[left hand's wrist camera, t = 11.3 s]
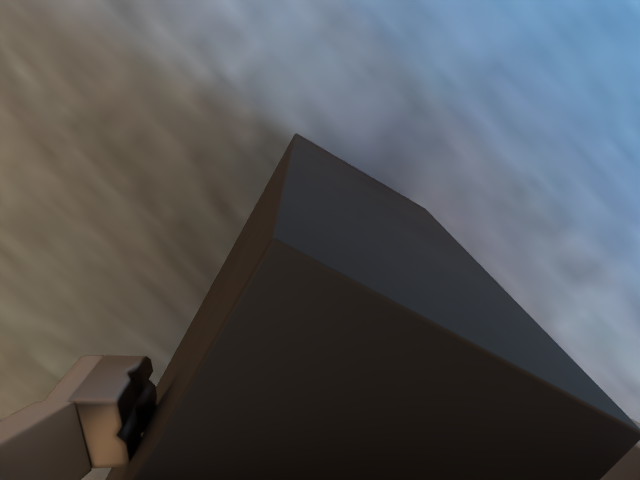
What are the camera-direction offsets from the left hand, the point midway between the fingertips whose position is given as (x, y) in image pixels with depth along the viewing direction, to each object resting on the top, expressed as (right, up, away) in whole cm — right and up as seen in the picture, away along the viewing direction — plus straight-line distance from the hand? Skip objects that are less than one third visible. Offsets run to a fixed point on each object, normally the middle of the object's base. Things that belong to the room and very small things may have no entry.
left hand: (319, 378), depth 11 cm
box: (-4, -4, +10) cm, 12 cm away
